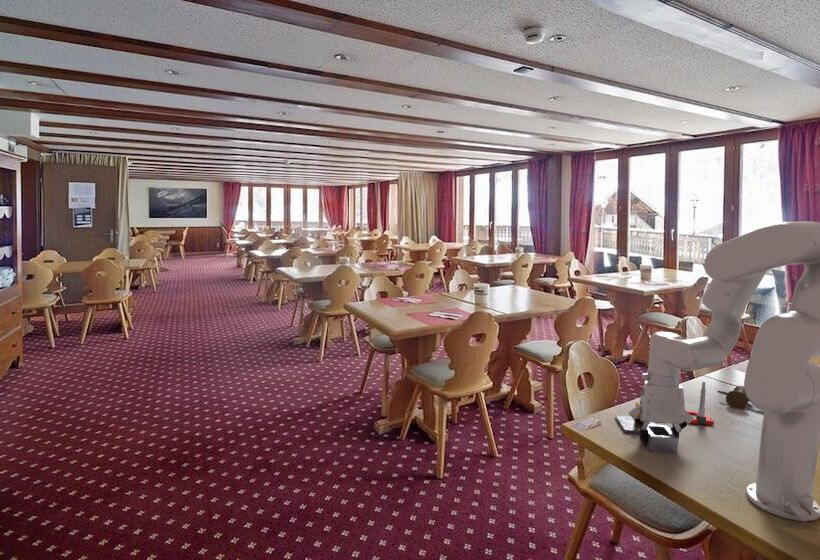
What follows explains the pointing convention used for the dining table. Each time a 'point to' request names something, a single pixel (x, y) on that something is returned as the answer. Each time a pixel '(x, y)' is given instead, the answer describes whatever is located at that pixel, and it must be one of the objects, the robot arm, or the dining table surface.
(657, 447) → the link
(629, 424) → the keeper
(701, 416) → the tow hook
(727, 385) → the dining table surface
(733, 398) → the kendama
